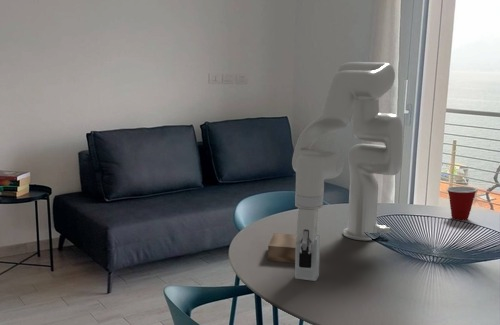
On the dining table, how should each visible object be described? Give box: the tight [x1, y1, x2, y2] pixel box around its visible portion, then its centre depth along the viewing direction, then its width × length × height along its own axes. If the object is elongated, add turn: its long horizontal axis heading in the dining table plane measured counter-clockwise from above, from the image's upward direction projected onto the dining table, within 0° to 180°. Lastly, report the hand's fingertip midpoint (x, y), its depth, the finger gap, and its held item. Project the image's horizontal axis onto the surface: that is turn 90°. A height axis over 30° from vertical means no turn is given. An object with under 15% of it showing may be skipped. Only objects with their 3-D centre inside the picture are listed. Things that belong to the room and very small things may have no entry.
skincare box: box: [294, 234, 321, 282], centre depth 149 cm, size 6×4×12 cm
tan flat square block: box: [267, 232, 296, 264], centre depth 166 cm, size 12×12×5 cm
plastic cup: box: [446, 185, 478, 221], centre depth 206 cm, size 11×11×12 cm
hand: (307, 260), depth 149 cm, fingers open, 9 cm apart
